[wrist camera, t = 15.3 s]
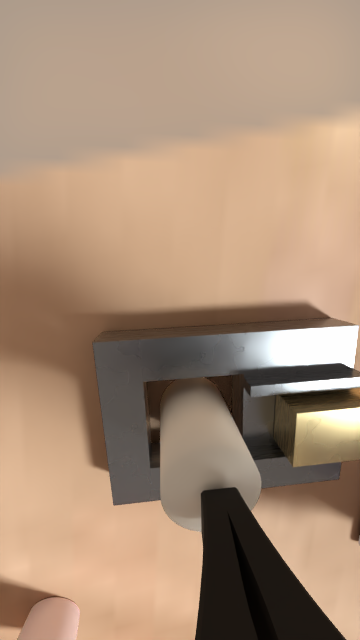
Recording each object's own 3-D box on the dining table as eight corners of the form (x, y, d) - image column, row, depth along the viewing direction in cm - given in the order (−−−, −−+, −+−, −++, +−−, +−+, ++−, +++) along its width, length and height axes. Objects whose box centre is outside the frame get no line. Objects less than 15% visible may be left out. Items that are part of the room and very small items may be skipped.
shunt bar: (409, 380, 13) (451, 399, 11) (400, 425, 14) (439, 451, 12) (276, 391, 13) (296, 413, 11) (273, 438, 13) (293, 467, 12)
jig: (331, 317, 14) (375, 330, 11) (317, 454, 17) (351, 494, 14) (102, 332, 13) (86, 349, 10) (119, 475, 16) (109, 523, 13)
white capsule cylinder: (223, 375, 15) (266, 444, 9) (220, 430, 15) (256, 527, 10) (160, 376, 14) (160, 449, 8) (160, 433, 15) (160, 535, 9)
